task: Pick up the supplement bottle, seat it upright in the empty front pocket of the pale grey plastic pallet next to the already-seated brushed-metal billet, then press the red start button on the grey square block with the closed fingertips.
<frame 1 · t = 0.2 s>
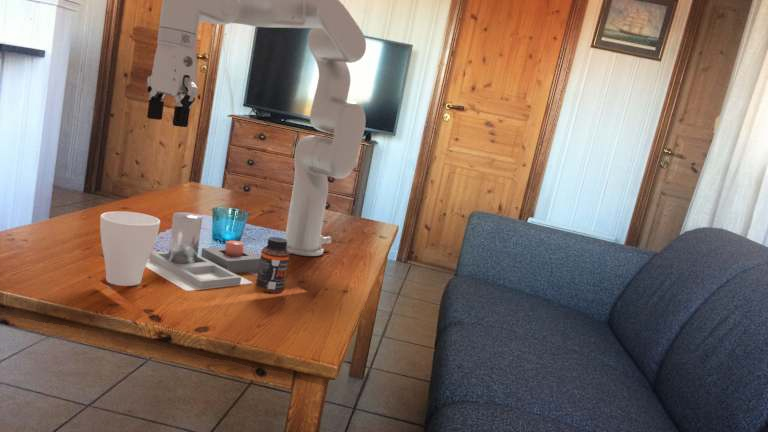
hand: (166, 122, 130), 31 cm above the table, fingers open, 9 cm apart
pallet: (193, 277, 131), on the table
supplement bottle: (269, 290, 132), on the table
cup: (123, 287, 119), on the table
start button: (234, 249, 140), point 5 cm above the table, slide at 0.0 cm
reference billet: (181, 264, 134), point 1 cm above the table, touching pallet
grey square block: (231, 270, 141), on the table
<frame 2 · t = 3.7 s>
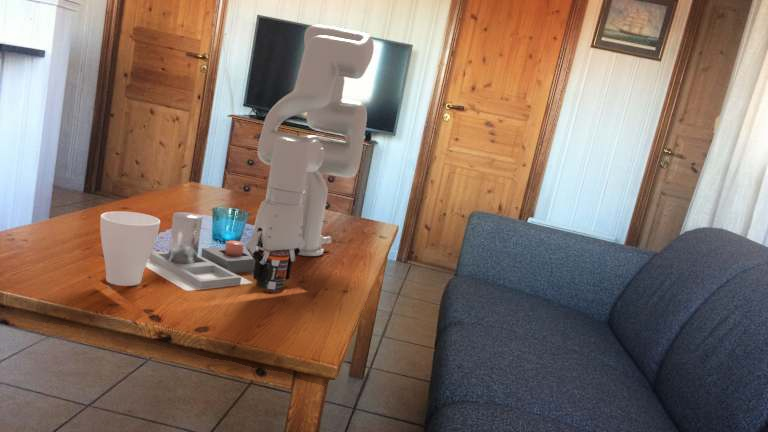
hand: (271, 278, 132), 3 cm above the table, fingers closed on supplement bottle, 6 cm apart
supplement bottle: (269, 290, 132), on the table, touching gripper
everything else where it was.
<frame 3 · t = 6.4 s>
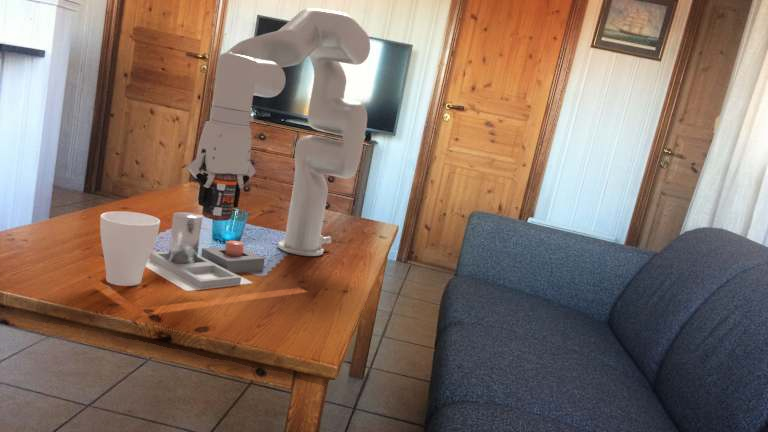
hand: (218, 205, 126), 17 cm above the table, fingers closed on supplement bottle, 6 cm apart
supplement bottle: (216, 218, 126), point 14 cm above the table, touching gripper
everything else where it was.
when the fingers open (5 cm above the table, at t = 9.0 s): supplement bottle stays where it is, resting on pallet.
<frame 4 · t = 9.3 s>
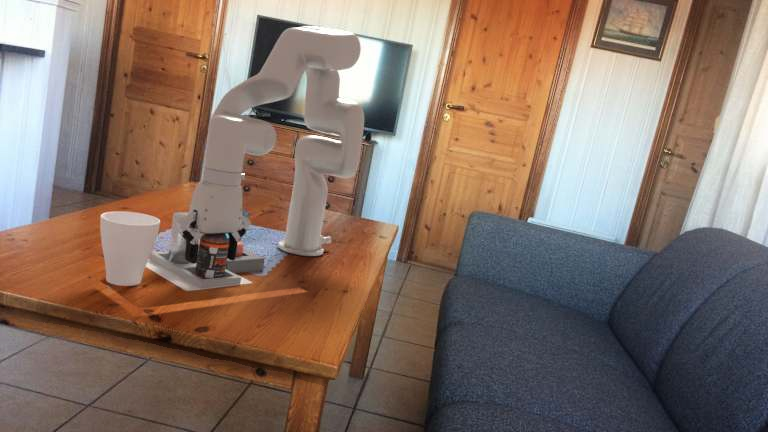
hand: (210, 259, 127), 5 cm above the table, fingers open, 8 cm apart
supplement bottle: (209, 279, 128), point 1 cm above the table, touching pallet
everything else where it was.
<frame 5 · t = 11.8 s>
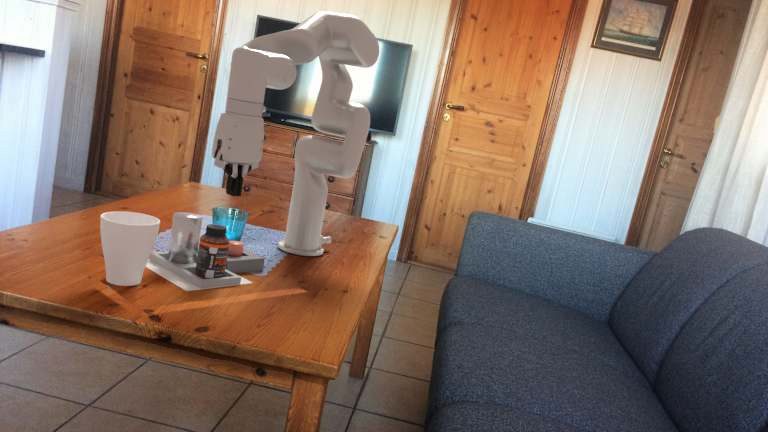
hand: (233, 194, 132), 18 cm above the table, fingers closed
nothing on the table moved.
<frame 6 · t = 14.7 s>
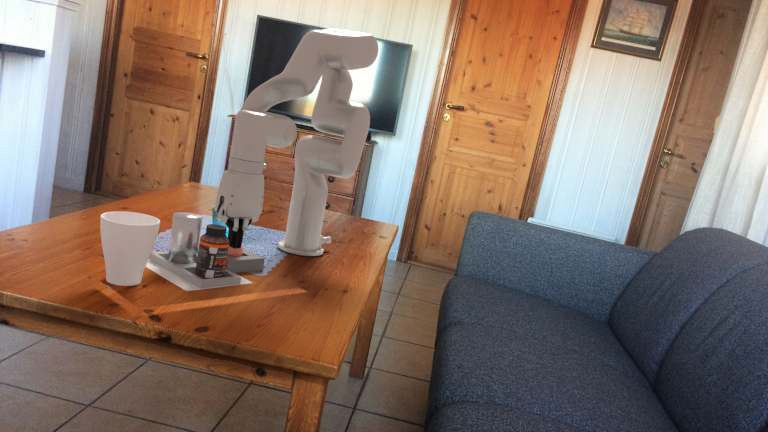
hand: (233, 246, 140), 6 cm above the table, fingers closed
start button: (233, 252, 140), point 4 cm above the table, slide at 0.8 cm, touching gripper
everything else where it was.
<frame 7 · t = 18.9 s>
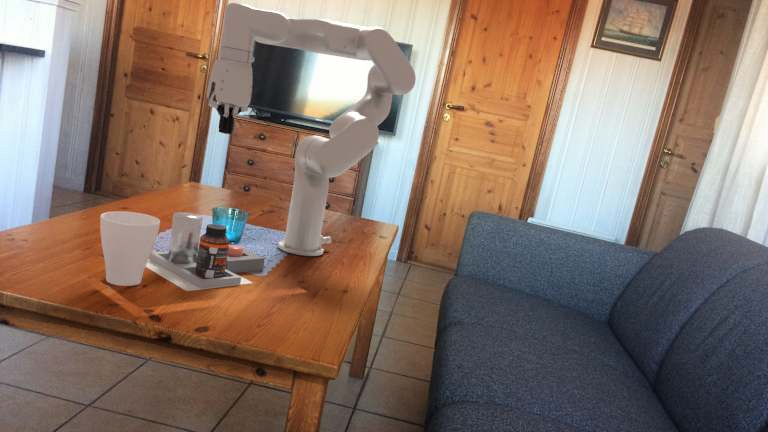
hand: (224, 132, 152), 29 cm above the table, fingers closed
start button: (233, 253, 140), point 4 cm above the table, slide at 1.0 cm
everything else where it was.
at the end: supplement bottle inside the target area on the pallet (0.4 cm from its centre), point 1.0 cm above the pallet's base; supplement bottle tilted 0°; start button slide at 1.0 cm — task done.
